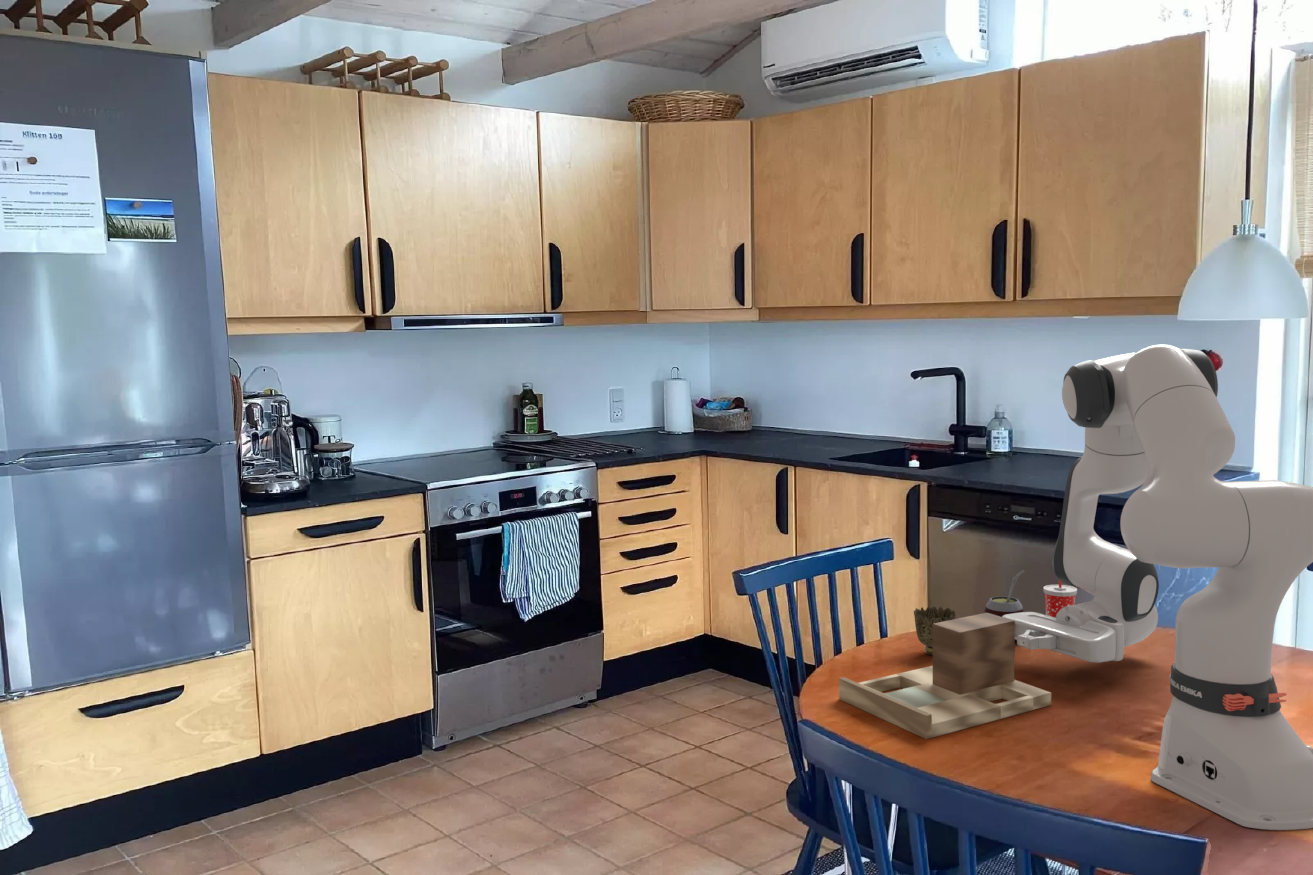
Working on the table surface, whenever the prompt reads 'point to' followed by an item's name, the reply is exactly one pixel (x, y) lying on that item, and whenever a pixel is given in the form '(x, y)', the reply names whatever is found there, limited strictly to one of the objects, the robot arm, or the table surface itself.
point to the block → (973, 652)
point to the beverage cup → (1058, 597)
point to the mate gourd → (1005, 602)
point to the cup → (930, 624)
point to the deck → (938, 702)
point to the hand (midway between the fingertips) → (1023, 642)
